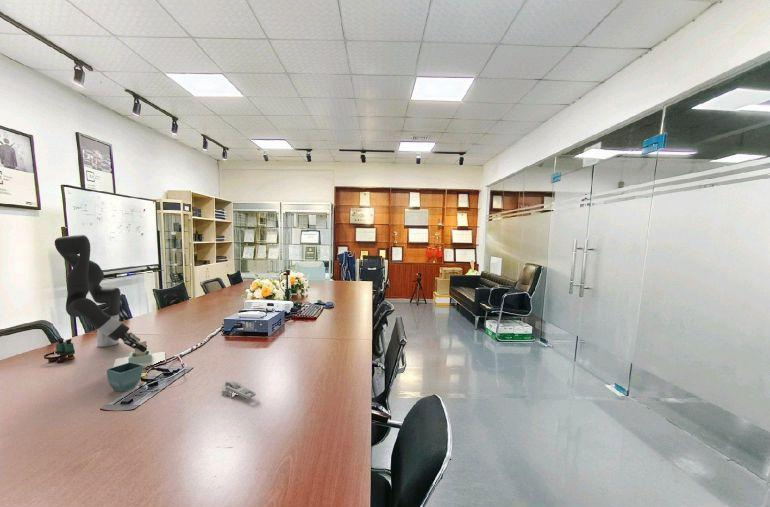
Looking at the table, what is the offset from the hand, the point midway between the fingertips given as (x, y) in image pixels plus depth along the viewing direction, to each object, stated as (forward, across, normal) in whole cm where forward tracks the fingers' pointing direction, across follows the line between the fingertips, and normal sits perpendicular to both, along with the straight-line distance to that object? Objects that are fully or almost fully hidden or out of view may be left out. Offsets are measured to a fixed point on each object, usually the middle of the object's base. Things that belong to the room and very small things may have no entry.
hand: (145, 349), depth 152 cm
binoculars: (-19, +23, +29) cm, 42 cm away
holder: (+3, 0, +6) cm, 7 cm away
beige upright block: (+2, 0, +4) cm, 4 cm away
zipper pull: (+27, -62, -17) cm, 69 cm away
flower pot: (+1, -30, +9) cm, 31 cm away
